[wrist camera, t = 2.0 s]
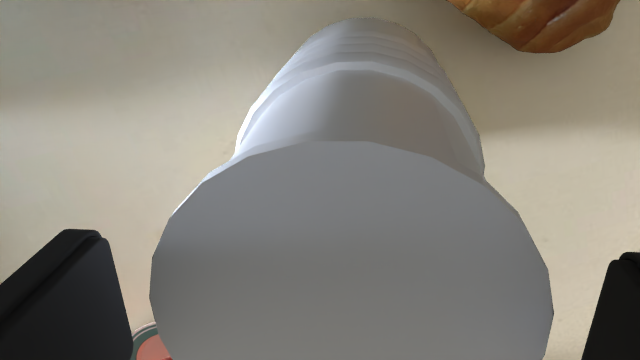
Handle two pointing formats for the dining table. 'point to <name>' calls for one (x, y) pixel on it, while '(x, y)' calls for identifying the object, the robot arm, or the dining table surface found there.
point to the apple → (148, 344)
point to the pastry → (540, 21)
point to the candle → (352, 223)
